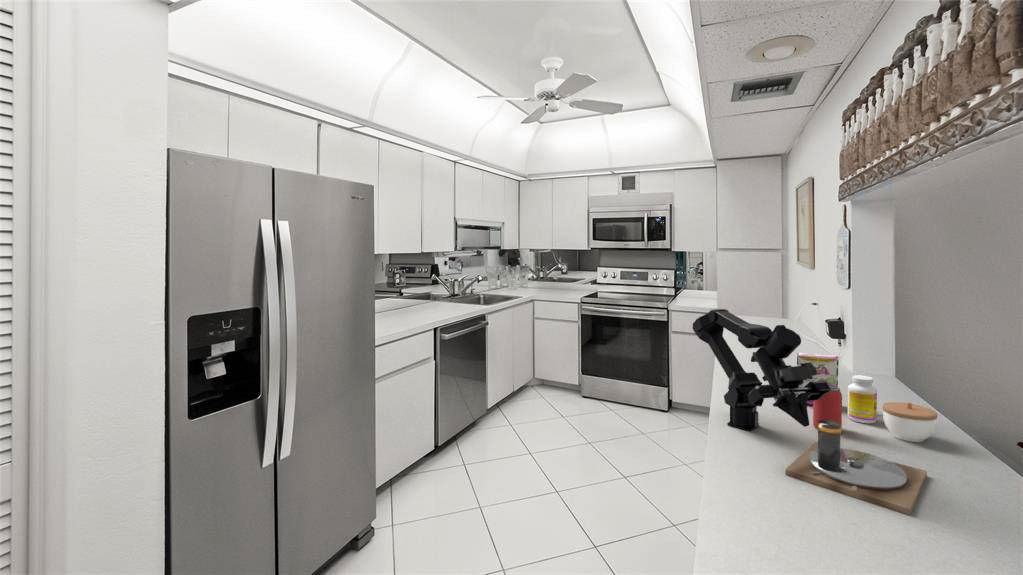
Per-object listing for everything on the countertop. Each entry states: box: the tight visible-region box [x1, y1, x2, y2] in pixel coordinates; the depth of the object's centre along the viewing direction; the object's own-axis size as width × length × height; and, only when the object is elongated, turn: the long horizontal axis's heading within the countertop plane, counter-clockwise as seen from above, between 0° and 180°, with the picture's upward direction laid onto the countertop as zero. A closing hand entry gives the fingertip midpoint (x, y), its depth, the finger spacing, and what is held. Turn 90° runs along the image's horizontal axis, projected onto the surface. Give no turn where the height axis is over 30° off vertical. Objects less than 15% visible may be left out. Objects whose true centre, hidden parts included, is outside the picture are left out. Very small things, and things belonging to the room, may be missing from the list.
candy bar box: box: [796, 352, 840, 406], centre depth 140 cm, size 11×5×16 cm, turn 58°
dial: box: [809, 420, 907, 491], centre depth 96 cm, size 17×17×11 cm
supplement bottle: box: [847, 374, 878, 424], centre depth 126 cm, size 7×7×13 cm
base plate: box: [785, 441, 928, 516], centre depth 96 cm, size 21×21×2 cm
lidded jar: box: [882, 401, 938, 443], centre depth 114 cm, size 11×11×9 cm
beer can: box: [812, 385, 843, 431], centre depth 121 cm, size 7×7×12 cm
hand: (806, 425), depth 101 cm, fingers closed
